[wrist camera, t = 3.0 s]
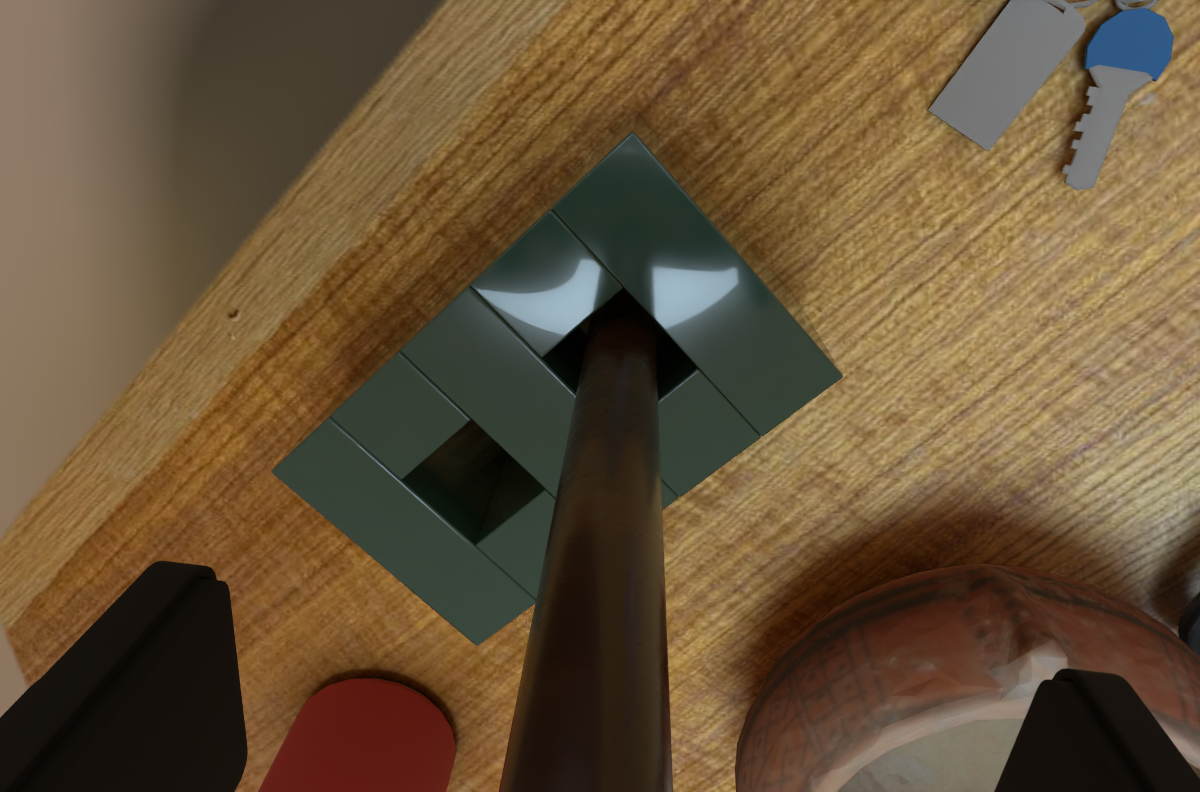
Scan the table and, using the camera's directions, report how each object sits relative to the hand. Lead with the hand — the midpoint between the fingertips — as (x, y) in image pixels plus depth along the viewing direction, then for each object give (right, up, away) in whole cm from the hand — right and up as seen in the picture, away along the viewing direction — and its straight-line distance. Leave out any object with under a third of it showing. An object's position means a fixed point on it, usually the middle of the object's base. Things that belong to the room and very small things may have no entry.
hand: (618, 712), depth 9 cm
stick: (+1, +7, +16) cm, 17 cm away
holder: (-1, +5, +16) cm, 17 cm away
